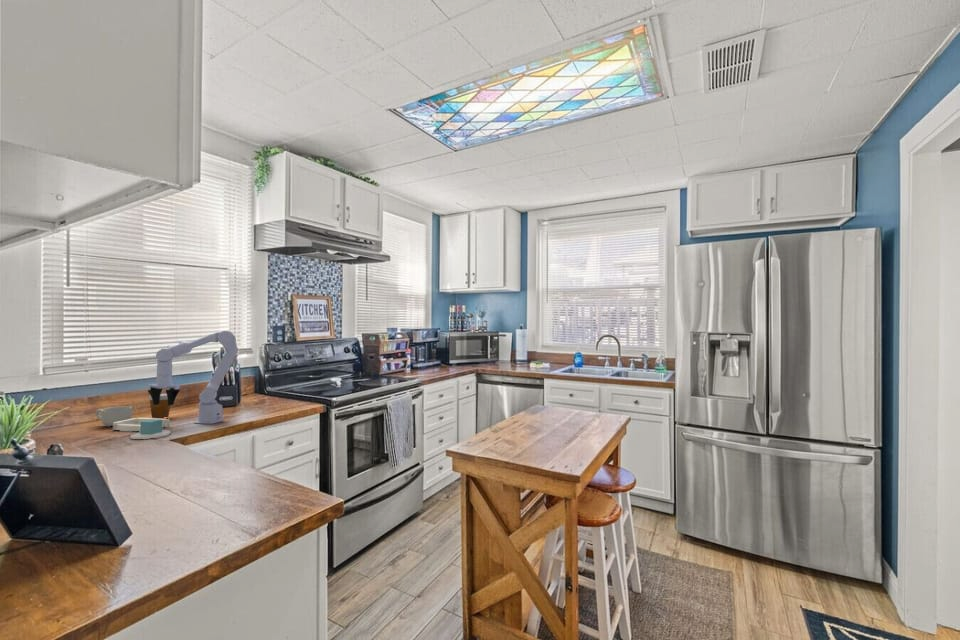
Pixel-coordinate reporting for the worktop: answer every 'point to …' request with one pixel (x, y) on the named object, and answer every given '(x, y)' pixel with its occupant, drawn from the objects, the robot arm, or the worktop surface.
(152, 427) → the cube
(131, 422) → the frame
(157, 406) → the disposable coffee cup
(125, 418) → the teacup
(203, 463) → the worktop surface
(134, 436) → the dish
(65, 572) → the worktop surface
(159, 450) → the worktop surface
